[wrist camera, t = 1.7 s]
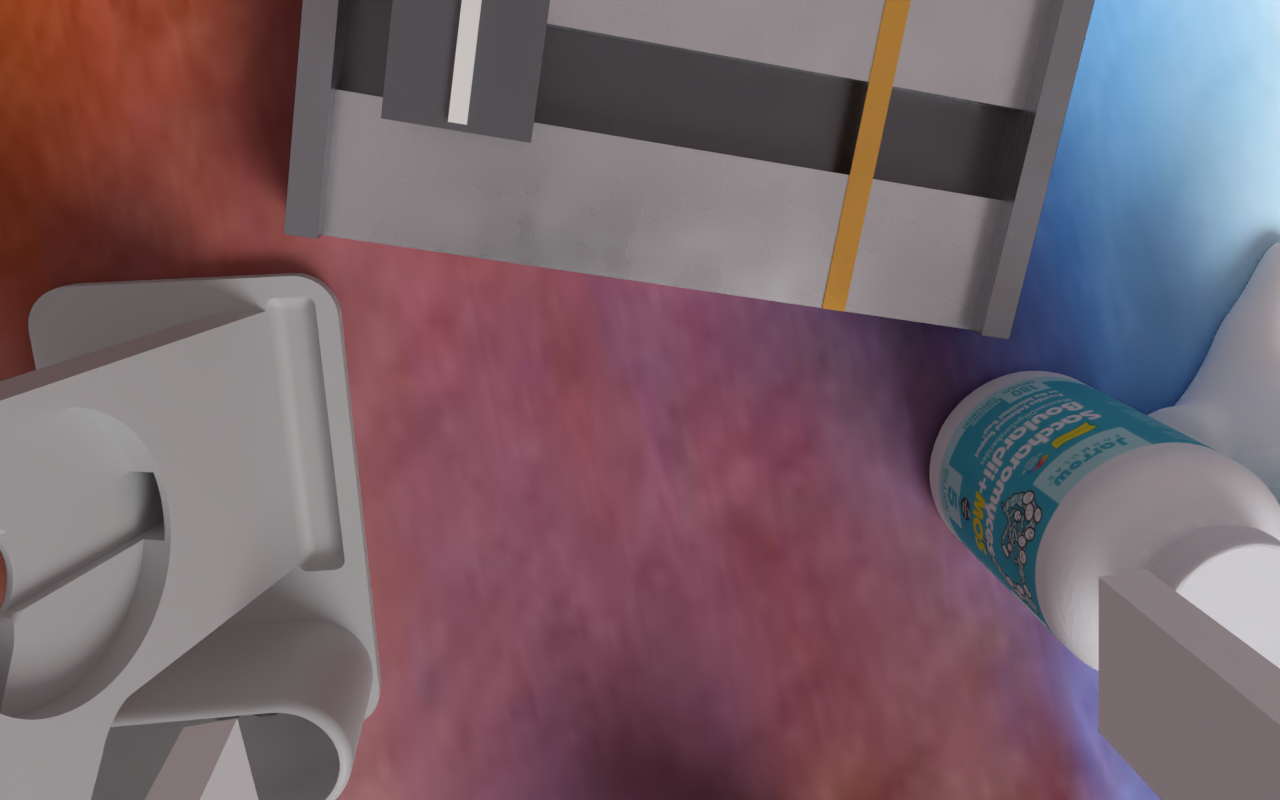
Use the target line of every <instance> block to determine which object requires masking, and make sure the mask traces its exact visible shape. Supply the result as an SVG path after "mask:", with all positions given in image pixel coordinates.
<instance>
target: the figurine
mask: <svg viewBox="0 0 1280 800" xmlns="http://www.w3.org/2000/svg"><path fill="white" fill-rule="evenodd" d="M1147 416H1149V417H1151V418H1153V419H1155V420H1157V421H1159V422H1161V423H1163V424H1165V425H1167V426H1169V427H1171V428H1173V429H1175V430H1177V431H1179V432H1181V433H1183V434H1184V435H1186V436H1188V437H1190V438H1192V439H1194V440H1196V441H1198V442H1200V443H1202V444H1204V445H1206V446H1208V447H1210V448H1212V449H1214V450H1216V451H1218V452H1220V453H1222V454H1224V455H1226V456H1227V457H1229V458H1231V459H1233V460H1235V461H1237V462H1238V463H1240V464H1241V465H1243V466H1244V467H1246V468H1247V469H1249V470H1250V471H1251V472H1253V473H1254V474H1255V475H1256V476H1257V477H1258V478H1259V479H1260V480H1261V481H1262V482H1263V483H1264V484H1265V485H1266V486H1267V487H1268V489H1269V490H1270V491H1271V493H1272V494H1273V495H1274V496H1275V498H1276V500H1277V502H1278V504H1279V505H1280V242H1277V243H1275V244H1274V245H1272V246H1271V247H1270V248H1269V249H1268V250H1267V251H1266V253H1265V254H1264V256H1263V257H1262V259H1261V260H1260V262H1259V264H1258V265H1257V267H1256V269H1255V271H1254V272H1253V274H1252V276H1251V278H1250V279H1249V281H1248V283H1247V285H1246V287H1245V289H1244V290H1243V292H1242V294H1241V295H1240V297H1239V298H1238V300H1237V301H1236V303H1235V304H1234V306H1233V307H1232V309H1231V310H1230V311H1229V313H1228V314H1227V316H1226V317H1225V319H1224V320H1223V322H1222V323H1221V325H1220V327H1219V329H1218V331H1217V333H1216V335H1215V337H1214V340H1213V342H1212V344H1211V347H1210V349H1209V351H1208V353H1207V355H1206V358H1205V360H1204V362H1203V364H1202V366H1201V367H1200V369H1199V371H1198V373H1197V374H1196V376H1195V378H1194V379H1193V381H1192V382H1191V384H1190V385H1189V387H1188V388H1187V390H1186V391H1185V392H1184V394H1183V395H1182V396H1181V398H1180V399H1179V400H1178V402H1177V403H1176V404H1175V405H1174V406H1173V407H1167V408H1162V409H1159V410H1157V411H1154V412H1152V413H1150V414H1148V415H1147Z"/></svg>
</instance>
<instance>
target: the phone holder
mask: <svg viewBox="0 0 1280 800" xmlns="http://www.w3.org/2000/svg"><path fill="white" fill-rule="evenodd" d="M28 329H29V335H30V341H31V346H32V351H33V357H34V362H35V367H36V370H34V371H31V372H28V373H25V374H22V375H19V376H16V377H12V378H9V379H6V380H3V381H0V551H1V553H2V555H3V558H4V561H5V565H6V574H7V582H6V591H5V595H4V599H3V602H2V605H1V608H0V800H145V798H146V796H147V795H148V793H149V791H150V789H151V787H152V785H153V783H154V782H155V780H156V778H157V776H158V774H159V772H160V770H161V769H162V767H163V765H164V763H165V761H166V759H167V757H168V756H169V754H170V752H171V750H172V748H173V746H174V744H175V743H176V741H177V739H178V737H179V735H180V733H181V731H182V730H183V728H184V727H188V726H194V725H200V724H206V723H212V722H218V721H224V720H230V719H238V723H239V727H240V731H241V735H242V739H243V742H244V746H245V750H246V754H247V758H248V762H249V766H250V769H251V773H252V777H253V781H254V785H255V789H256V793H257V796H258V800H336V799H337V798H338V797H339V795H340V794H341V793H342V791H343V790H344V788H345V786H346V784H347V782H348V780H349V777H350V774H351V771H352V766H353V762H354V758H355V754H356V750H357V746H358V742H359V738H360V734H361V730H362V725H363V721H364V720H365V719H366V718H367V717H369V716H370V715H371V713H372V712H373V711H374V709H375V708H376V706H377V703H378V700H379V696H380V692H381V673H380V663H379V654H378V645H377V636H376V627H375V617H374V608H373V599H372V590H371V581H370V571H369V562H368V553H367V544H366V535H365V526H364V516H363V507H362V498H361V489H360V480H359V470H358V461H357V452H356V443H355V434H354V424H353V415H352V406H351V397H350V388H349V378H348V369H347V360H346V351H345V342H344V332H343V323H342V314H341V308H340V304H339V301H338V299H337V297H336V295H335V294H334V292H333V291H332V290H331V288H330V287H329V286H328V285H327V284H325V283H324V282H323V281H321V280H320V279H318V278H316V277H314V276H311V275H308V274H303V273H283V274H262V275H241V276H220V277H199V278H179V279H158V280H137V281H116V282H95V283H75V284H72V285H66V286H61V287H58V288H56V289H53V290H51V291H48V292H47V293H45V294H44V295H42V296H41V297H40V298H39V299H38V300H37V301H36V302H35V304H34V305H33V307H32V309H31V311H30V314H29V319H28Z"/></svg>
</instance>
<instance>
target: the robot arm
mask: <svg viewBox="0 0 1280 800" xmlns="http://www.w3.org/2000/svg"><path fill="white" fill-rule="evenodd" d="M1099 732H1100V734H1101V735H1102V736H1103V737H1104V738H1105V739H1106V740H1107V741H1108V742H1109V743H1110V744H1111V745H1112V747H1113V748H1114V749H1115V750H1116V751H1117V752H1118V753H1119V754H1120V755H1121V756H1122V757H1123V758H1124V760H1125V761H1126V762H1127V763H1128V764H1129V765H1130V766H1131V767H1132V768H1133V769H1134V770H1135V771H1136V773H1137V774H1138V775H1139V776H1140V777H1141V778H1142V779H1143V780H1144V781H1145V782H1146V783H1147V784H1148V786H1149V787H1150V788H1151V789H1152V790H1153V791H1154V792H1155V793H1156V794H1157V795H1158V796H1159V797H1160V799H1161V800H1280V668H1278V667H1277V666H1276V665H1274V664H1273V663H1272V662H1270V661H1269V660H1267V659H1266V658H1265V657H1263V656H1262V655H1261V654H1259V653H1258V652H1257V651H1255V650H1254V649H1253V648H1251V647H1250V646H1249V645H1247V644H1246V643H1245V642H1243V641H1242V640H1241V639H1239V638H1238V637H1237V636H1235V635H1234V634H1232V633H1231V632H1230V631H1228V630H1227V629H1226V628H1224V627H1223V626H1222V625H1220V624H1219V623H1218V622H1216V621H1215V620H1214V619H1212V618H1211V617H1210V616H1208V615H1207V614H1206V613H1204V612H1203V611H1202V610H1200V609H1199V608H1197V607H1196V606H1195V605H1193V604H1192V603H1191V602H1189V601H1188V600H1187V599H1185V598H1184V597H1183V596H1181V595H1180V594H1179V593H1177V592H1176V591H1175V590H1173V589H1172V588H1171V587H1169V586H1168V585H1166V584H1165V583H1164V582H1162V581H1161V580H1160V579H1158V578H1157V577H1156V576H1154V575H1153V574H1152V573H1150V572H1149V571H1148V570H1146V569H1144V570H1138V571H1132V572H1125V573H1119V574H1113V575H1107V576H1101V577H1099ZM145 800H258V796H257V793H256V789H255V785H254V781H253V777H252V773H251V769H250V766H249V762H248V758H247V754H246V750H245V746H244V742H243V739H242V735H241V731H240V727H239V723H238V719H230V720H224V721H218V722H212V723H206V724H200V725H194V726H188V727H184V728H183V730H182V731H181V733H180V735H179V737H178V739H177V741H176V743H175V744H174V746H173V748H172V750H171V752H170V754H169V756H168V757H167V759H166V761H165V763H164V765H163V767H162V769H161V770H160V772H159V774H158V776H157V778H156V780H155V782H154V783H153V785H152V787H151V789H150V791H149V793H148V795H147V796H146V798H145Z"/></svg>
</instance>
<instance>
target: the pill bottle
mask: <svg viewBox="0 0 1280 800" xmlns="http://www.w3.org/2000/svg"><path fill="white" fill-rule="evenodd" d="M930 487H931V492H932V497H933V500H934V503H935V506H936V508H937V510H938V513H939V514H940V516H941V518H942V519H943V521H944V523H945V524H946V525H947V526H948V528H949V529H950V530H951V532H952V533H953V534H954V535H955V536H956V537H957V538H958V539H959V540H960V541H961V542H962V543H963V544H964V545H965V546H966V547H967V548H968V549H969V550H970V551H971V552H972V553H973V554H974V555H975V556H976V557H977V558H978V559H979V560H980V561H981V562H982V563H983V564H984V565H985V566H986V567H987V568H988V569H989V570H990V571H991V572H992V573H993V574H994V575H995V576H996V577H997V578H998V579H999V580H1000V581H1001V582H1002V583H1003V584H1004V585H1005V586H1006V587H1007V588H1008V589H1009V590H1010V591H1011V592H1012V593H1013V594H1014V595H1015V596H1016V597H1017V598H1018V599H1019V600H1020V601H1021V602H1022V603H1023V604H1024V605H1025V606H1026V607H1027V608H1028V609H1029V610H1030V611H1031V612H1032V613H1033V614H1034V615H1035V616H1036V617H1037V618H1038V619H1039V621H1040V622H1041V623H1042V624H1043V625H1044V626H1045V627H1046V628H1047V629H1048V630H1049V631H1050V632H1051V633H1052V634H1053V635H1054V636H1055V637H1056V638H1057V639H1058V640H1059V641H1060V642H1061V643H1062V644H1064V645H1065V646H1066V647H1067V648H1068V649H1069V650H1070V651H1071V652H1072V653H1073V654H1074V655H1075V656H1076V657H1077V658H1079V659H1080V660H1081V661H1083V662H1084V663H1086V664H1087V665H1089V666H1090V667H1092V668H1094V669H1095V670H1097V671H1099V577H1101V576H1107V575H1113V574H1119V573H1125V572H1132V571H1138V570H1144V569H1146V570H1148V571H1149V572H1150V573H1152V574H1153V575H1154V576H1156V577H1157V578H1158V579H1160V580H1161V581H1162V582H1164V583H1165V584H1166V585H1168V586H1169V587H1171V588H1172V589H1173V590H1175V591H1176V592H1177V593H1179V594H1180V595H1181V596H1183V597H1184V598H1185V599H1187V600H1188V601H1189V602H1191V603H1192V604H1193V605H1195V606H1196V607H1197V608H1199V609H1200V610H1202V611H1203V612H1204V613H1206V614H1207V615H1208V616H1210V617H1211V618H1212V619H1214V620H1215V621H1216V622H1218V623H1219V624H1220V625H1222V626H1223V627H1224V628H1226V629H1227V630H1228V631H1230V632H1231V633H1232V634H1234V635H1235V636H1237V637H1238V638H1239V639H1241V640H1242V641H1243V642H1245V643H1246V644H1247V645H1249V646H1250V647H1251V648H1253V649H1254V650H1255V651H1257V652H1258V653H1259V654H1261V655H1262V656H1263V657H1265V658H1266V659H1267V660H1269V661H1270V662H1272V663H1273V664H1274V665H1276V666H1277V667H1278V668H1280V505H1279V504H1278V502H1277V500H1276V498H1275V496H1274V495H1273V494H1272V493H1271V491H1270V490H1269V489H1268V487H1267V486H1266V485H1265V484H1264V483H1263V482H1262V481H1261V480H1260V479H1259V478H1258V477H1257V476H1256V475H1255V474H1254V473H1253V472H1251V471H1250V470H1249V469H1247V468H1246V467H1244V466H1243V465H1241V464H1240V463H1238V462H1237V461H1235V460H1233V459H1231V458H1229V457H1227V456H1226V455H1224V454H1222V453H1220V452H1218V451H1216V450H1214V449H1212V448H1210V447H1208V446H1206V445H1204V444H1202V443H1200V442H1198V441H1196V440H1194V439H1192V438H1190V437H1188V436H1186V435H1184V434H1183V433H1181V432H1179V431H1177V430H1175V429H1173V428H1171V427H1169V426H1167V425H1165V424H1163V423H1161V422H1159V421H1157V420H1155V419H1153V418H1151V417H1149V416H1147V415H1145V414H1143V413H1141V412H1139V411H1137V410H1136V409H1134V408H1132V407H1130V406H1128V405H1126V404H1124V403H1122V402H1120V401H1118V400H1116V399H1114V398H1112V397H1110V396H1108V395H1106V394H1104V393H1102V392H1100V391H1098V390H1096V389H1095V388H1093V387H1090V386H1088V385H1086V384H1084V383H1082V382H1080V381H1078V380H1076V379H1073V378H1071V377H1069V376H1066V375H1062V374H1059V373H1054V372H1048V371H1022V372H1016V373H1011V374H1007V375H1004V376H1001V377H999V378H996V379H993V380H991V381H989V382H987V383H985V384H984V385H982V386H980V387H979V388H977V389H976V390H974V391H973V392H971V393H970V394H969V395H968V396H967V397H965V398H964V399H963V400H962V401H961V402H960V403H959V404H958V405H957V406H956V407H955V408H954V410H953V411H952V412H951V413H950V415H949V416H948V418H947V419H946V421H945V422H944V424H943V426H942V428H941V429H940V432H939V434H938V436H937V438H936V441H935V444H934V447H933V451H932V455H931V460H930Z"/></svg>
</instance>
